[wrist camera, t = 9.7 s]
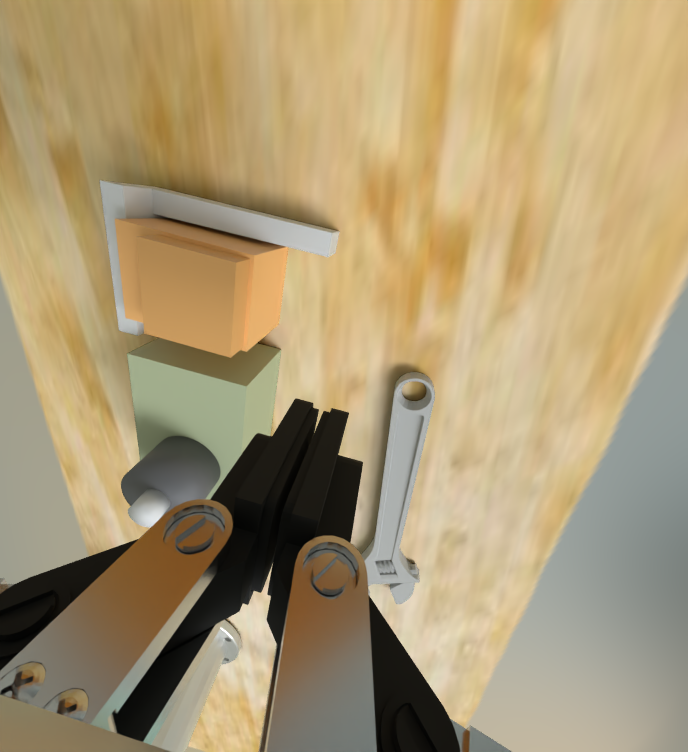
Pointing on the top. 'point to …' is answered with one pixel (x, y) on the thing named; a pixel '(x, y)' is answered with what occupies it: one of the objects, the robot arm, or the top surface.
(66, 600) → the robot arm
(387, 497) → the adjustable wrench
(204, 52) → the top surface
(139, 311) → the stepped orange block
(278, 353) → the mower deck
